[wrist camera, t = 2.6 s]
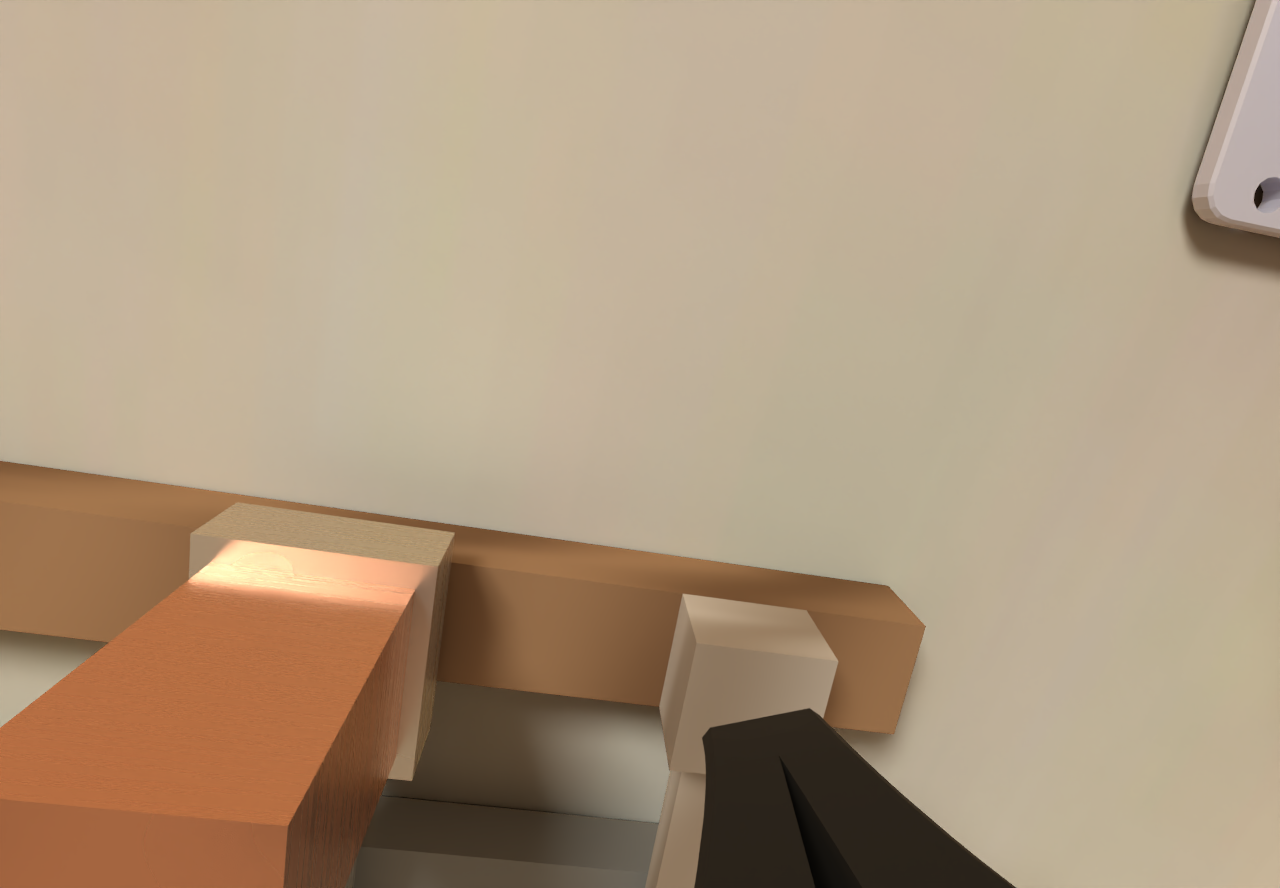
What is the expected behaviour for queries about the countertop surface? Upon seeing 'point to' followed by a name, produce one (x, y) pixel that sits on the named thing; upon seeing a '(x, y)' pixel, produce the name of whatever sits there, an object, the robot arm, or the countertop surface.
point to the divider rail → (510, 619)
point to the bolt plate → (499, 848)
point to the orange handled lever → (236, 714)
